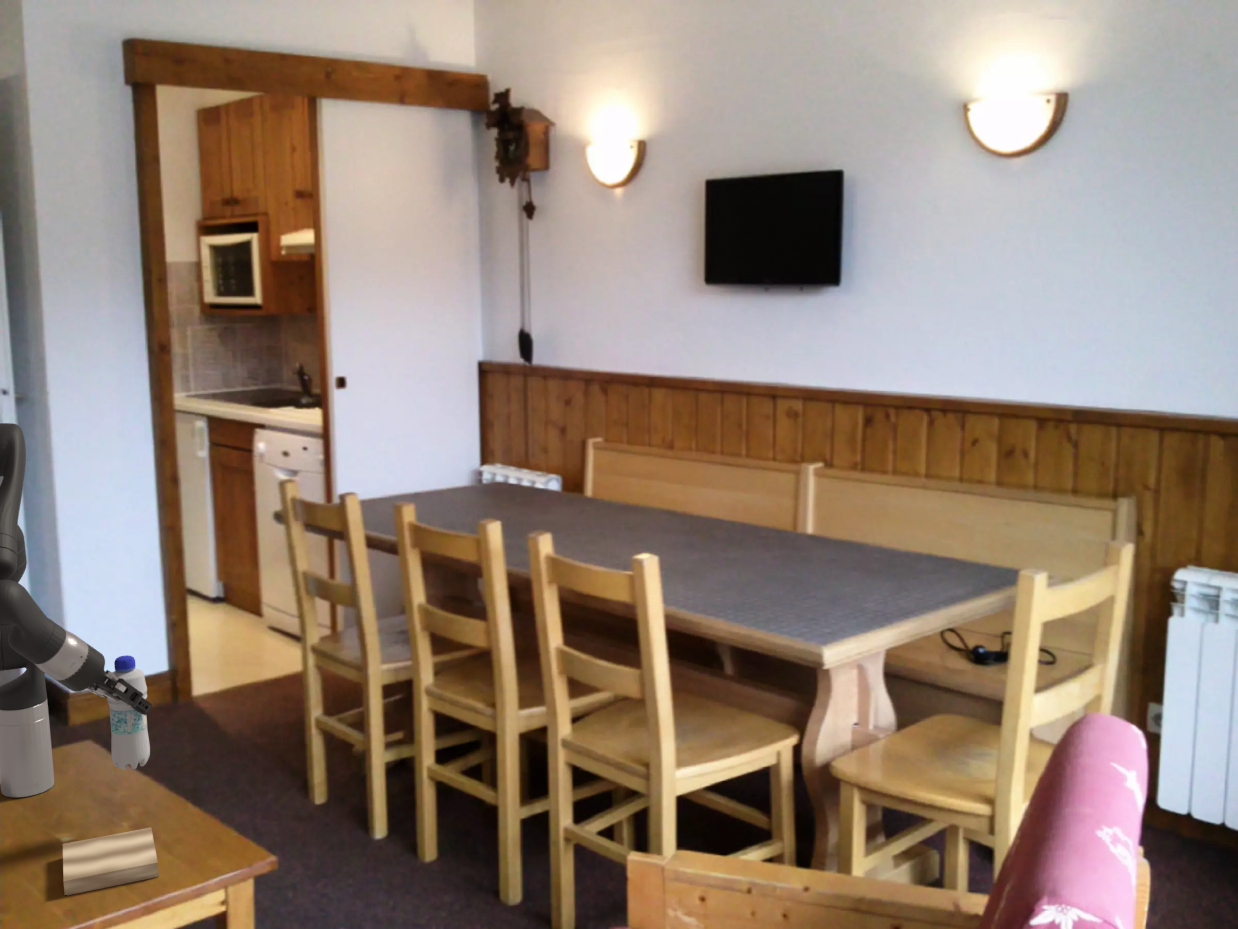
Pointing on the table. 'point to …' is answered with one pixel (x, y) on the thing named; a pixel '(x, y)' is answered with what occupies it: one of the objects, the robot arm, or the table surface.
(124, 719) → the bottle
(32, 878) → the table surface
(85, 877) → the birch stand
